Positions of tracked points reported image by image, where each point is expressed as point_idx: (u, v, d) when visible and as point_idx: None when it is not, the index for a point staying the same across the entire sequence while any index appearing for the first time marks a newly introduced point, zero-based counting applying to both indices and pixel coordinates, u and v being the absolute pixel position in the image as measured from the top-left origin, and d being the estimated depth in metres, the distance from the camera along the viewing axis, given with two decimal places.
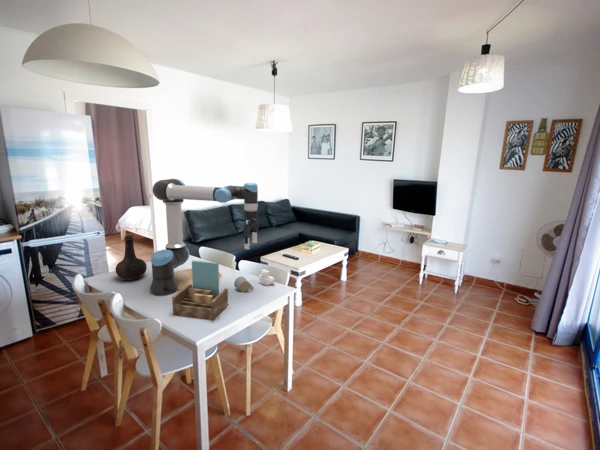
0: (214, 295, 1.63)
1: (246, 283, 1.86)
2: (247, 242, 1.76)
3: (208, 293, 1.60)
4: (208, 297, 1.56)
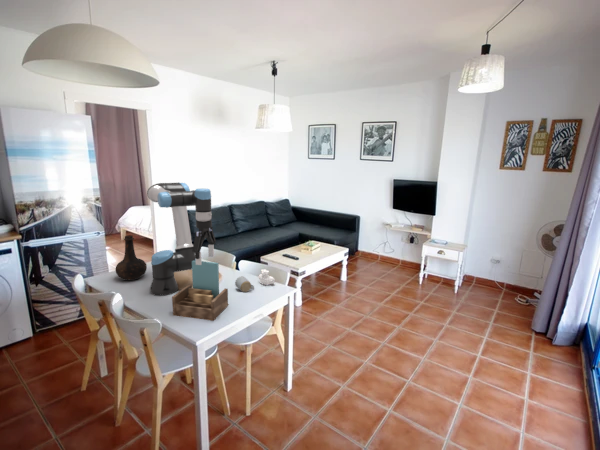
0: (214, 295, 1.63)
1: (247, 283, 1.86)
2: (198, 257, 1.52)
3: (208, 293, 1.60)
4: (208, 297, 1.56)
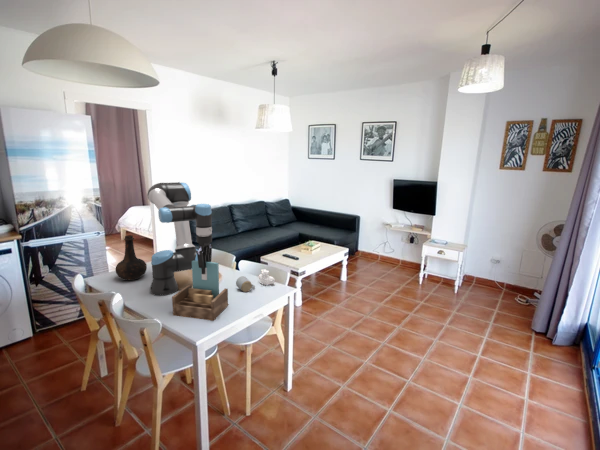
0: (214, 295, 1.63)
1: (248, 283, 1.86)
2: (204, 272, 1.60)
3: (208, 293, 1.60)
4: (208, 297, 1.56)
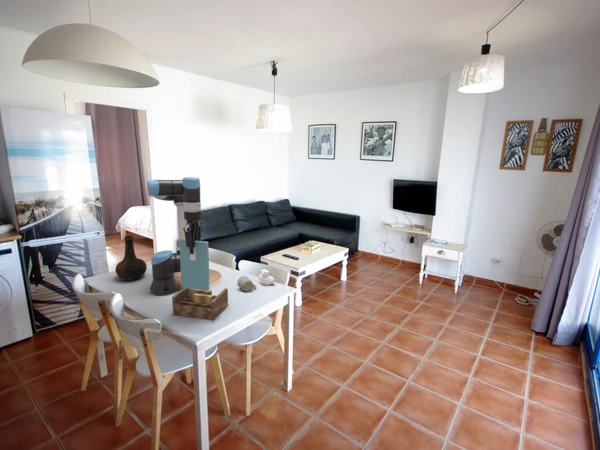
0: (204, 277, 1.50)
1: (249, 282, 1.87)
2: (193, 252, 1.47)
3: (208, 293, 1.60)
4: (208, 297, 1.56)
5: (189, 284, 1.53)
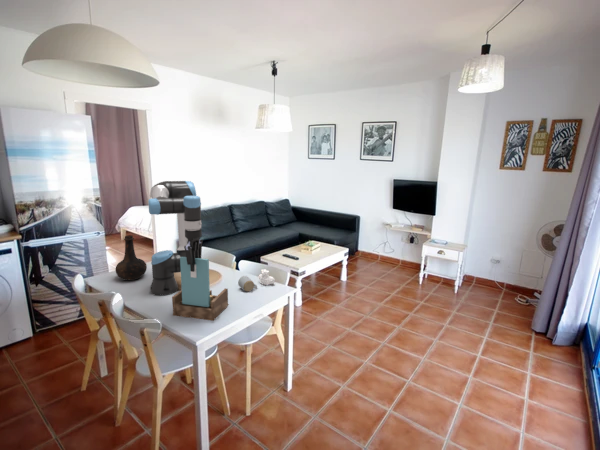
0: (204, 294, 1.52)
1: (250, 282, 1.87)
2: (193, 269, 1.49)
3: None
4: None
5: (190, 300, 1.54)
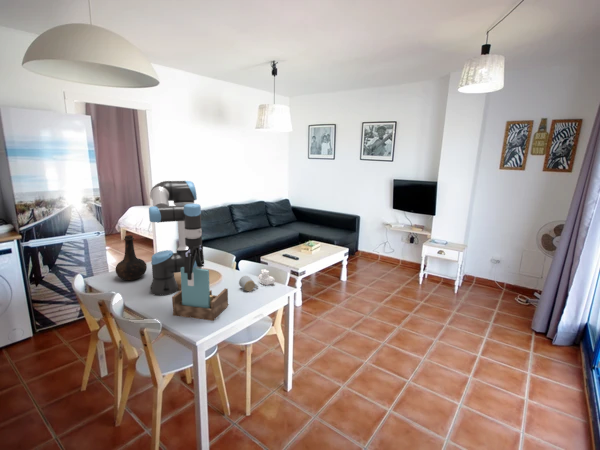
0: (204, 304, 1.53)
1: (251, 282, 1.87)
2: (190, 278, 1.47)
3: None
4: None
5: None
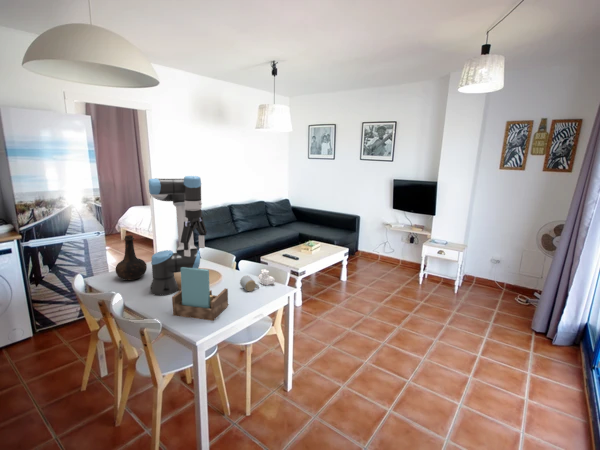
0: (204, 304, 1.53)
1: (252, 282, 1.88)
2: (187, 248, 1.45)
3: None
4: None
5: None
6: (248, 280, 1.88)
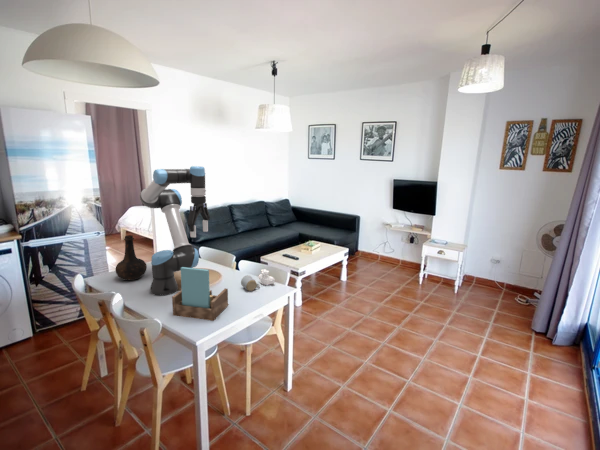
0: (204, 304, 1.53)
1: (253, 282, 1.88)
2: (193, 230, 1.64)
3: None
4: None
5: None
6: (249, 280, 1.88)
